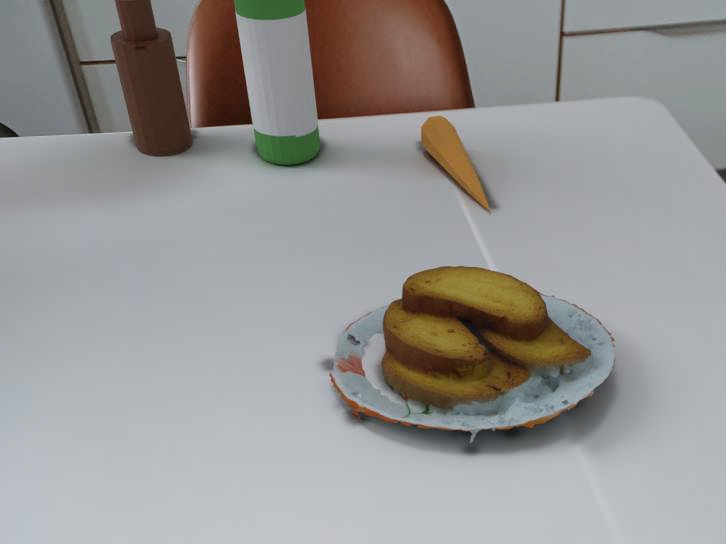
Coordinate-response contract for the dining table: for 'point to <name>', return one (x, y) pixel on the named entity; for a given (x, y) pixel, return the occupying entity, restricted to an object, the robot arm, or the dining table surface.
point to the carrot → (451, 155)
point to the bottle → (150, 81)
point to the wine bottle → (279, 79)
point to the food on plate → (475, 353)
